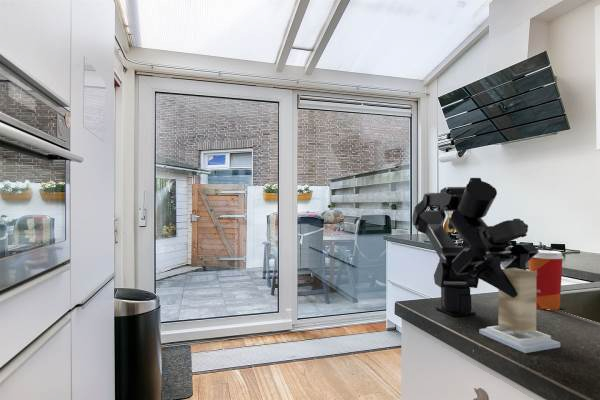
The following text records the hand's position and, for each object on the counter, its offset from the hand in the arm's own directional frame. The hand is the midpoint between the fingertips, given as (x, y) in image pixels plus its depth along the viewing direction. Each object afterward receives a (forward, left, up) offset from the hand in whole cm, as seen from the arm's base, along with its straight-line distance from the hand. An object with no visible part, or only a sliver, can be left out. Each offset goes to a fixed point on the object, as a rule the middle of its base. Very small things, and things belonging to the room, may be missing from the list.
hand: (524, 295), depth 66 cm
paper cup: (-15, +25, -9) cm, 31 cm away
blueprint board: (-1, 0, -9) cm, 9 cm away
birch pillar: (-1, 0, -7) cm, 7 cm away
